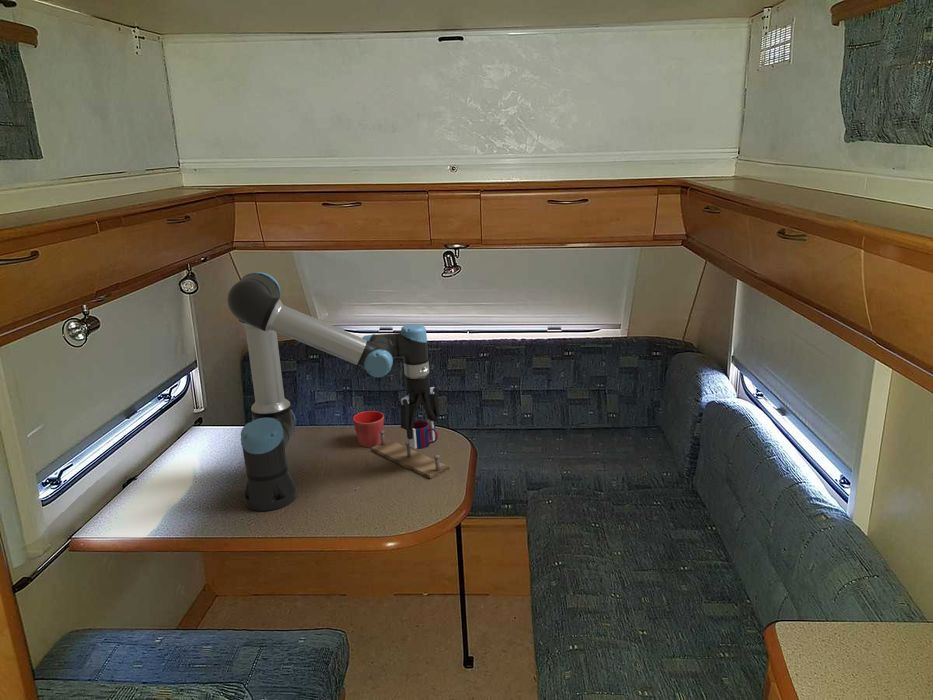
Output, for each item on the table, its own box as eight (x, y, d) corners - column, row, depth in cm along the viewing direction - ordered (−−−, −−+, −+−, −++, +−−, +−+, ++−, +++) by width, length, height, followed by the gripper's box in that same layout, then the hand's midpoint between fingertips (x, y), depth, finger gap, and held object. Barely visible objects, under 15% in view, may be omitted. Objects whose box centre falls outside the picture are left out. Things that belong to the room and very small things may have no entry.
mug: (417, 438, 219) (415, 419, 217) (442, 444, 214) (441, 424, 212) (404, 446, 214) (403, 426, 212) (430, 452, 209) (429, 432, 207)
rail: (372, 450, 229) (370, 434, 227) (390, 443, 234) (389, 427, 232) (430, 479, 208) (429, 461, 206) (449, 470, 213) (448, 452, 211)
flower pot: (392, 438, 238) (389, 412, 235) (375, 451, 229) (373, 424, 226) (366, 434, 242) (363, 408, 239) (349, 446, 233) (346, 420, 230)
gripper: (399, 386, 198) (405, 457, 205) (449, 368, 211) (453, 436, 218) (383, 380, 203) (390, 450, 210) (433, 364, 216) (437, 430, 223)
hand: (422, 443), depth 214 cm, fingers closed on mug, 7 cm apart
